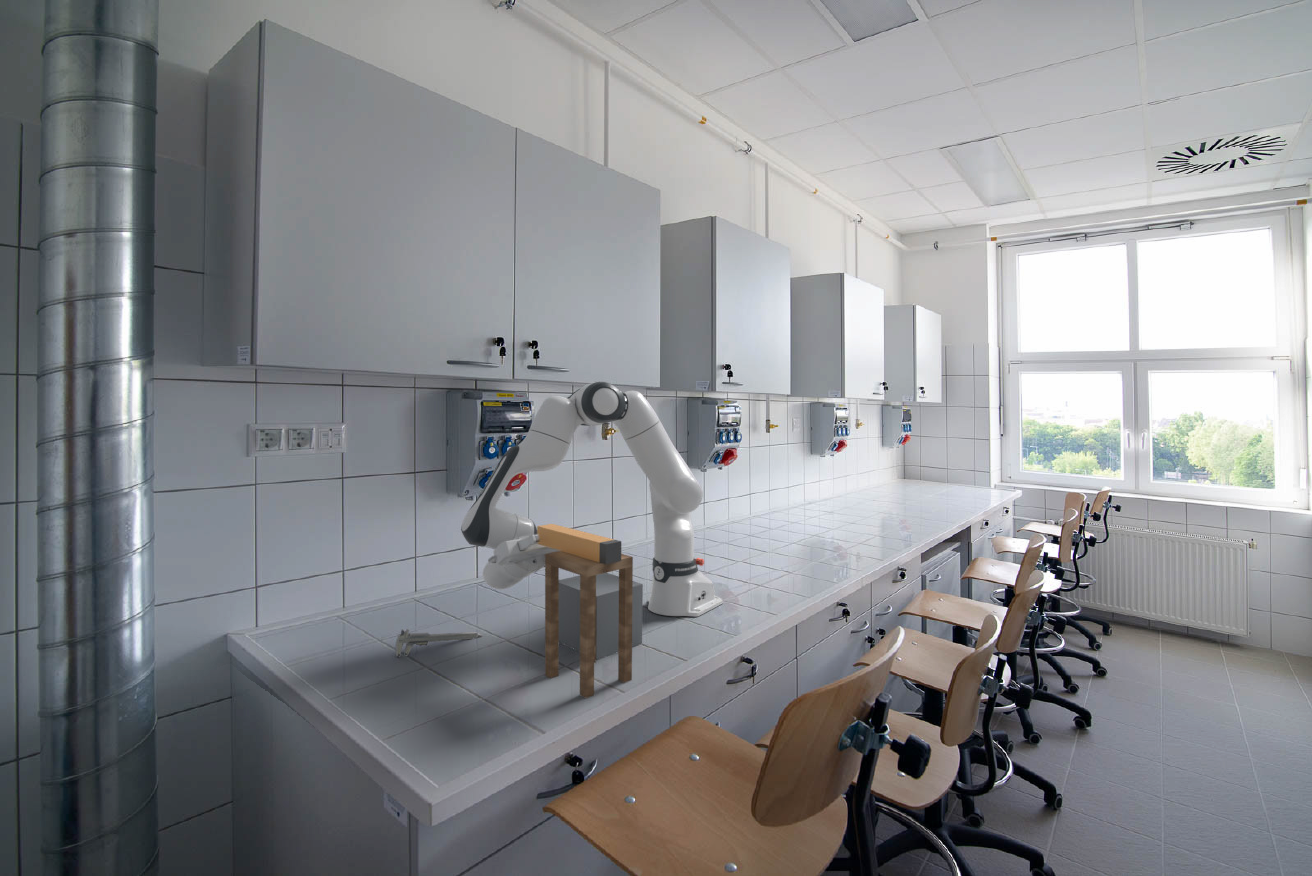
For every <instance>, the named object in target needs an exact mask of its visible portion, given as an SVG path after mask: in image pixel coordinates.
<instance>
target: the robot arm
mask: <svg viewBox="0 0 1312 876" xmlns="http://www.w3.org/2000/svg"><path fill="white" fill-rule="evenodd" d="M606 423H613V424H614V425H615V426H616V427H617V429H618V430H619V431H620V434H621V436H622V438H623V440H624V441H625V443H626V445H627V447H628V449H629V450H630V452H631V455H632V456H633V458H634V460H635V461H636V464H637V465H638V466H639V468H640V469H641V470H642V472H643V473H644V474H645V477H646V478H647V479H648V481H649V492H650V499H651V500H650V501H651V503H650V504H651V512H652V520H653V528H654V529H653V530H654V532H653V533H654V535H653V536H654V545H653V546H654V547H653V548H654V557H653V558H652V573H653V575H652V582H651V587H650V588H651V590H650V596H649V597H648V606H647V608H648V610H649V611H650V612H652V613H654V614H657V615H661V616H668V617H694V618H695V617H700V616H702V615H704V614H705V613H707V612H710V611H711V610H713V609H715V608H717V607H718V606H720V605H722V604H723V603H724V602H723V599H722V598H721V597H720V596H717V595H715V587H714V583H713V581H712V580H710V578H708V577H707V576H706V575H705V574H703V573H702V572H701V571H700V570H699V567H698V566H700V567H703V566H704V565H705V560H704V558H701V557H697V558H695V556H694V555H695V554H694V552H695V530H694V526H693V522H692V517H691V513H692V512H694V511H695V510H696V509H698V508H699V506H701V503H702V501H703V498H704V497H703V496H704V494H703V493H704V492H703V489H702V486H701V484H700V482H699V481H698V480H697V478H696V477H695V475H694V474H693V472H692V470H691V469H690V467H689V466H688V464H687V463H686V461H685V460H684V458H683V457H682V456H681V454H680V452H679V451H678V450H677V448H676V447H675V446H674V443H673V442H672V440H671V439H670V436H669V434H668V433H667V431H666V429H665V427H664V425H663V423H662V422H661V420H660V418H659V416H658V414H657V412H656V411H655V410H654V408H653V407H652V405H651V404H650V403H649V401H648V400H647V398H646V397H645V396H644V395H643V394H642V393H641V392H640V391H637V390H627V391H625V392H624V391H622V390H620V389H619V388H617V386H615V385H613V384H611V383H609V382H606V381H597V382H596V381H595V382H591V383H587V384H585V385H583V386H582V387H580V388H578V389H576V390H575V391H574V392H572V393H571V394H570V395H569V396H568V397H565V396H562V395H552V396H551V395H550V396H548V397H547V398H546V399H544V400H543V402H542V403H541V405H540V407H539V409H538V410H537V412H536V414H535V416H534V418H533V420H532V423H531V425H530V427H529V430H528V432H527V433H526V436H525V438H524V439H523V440H522V441H521V442H520V443H519V444H518V445H513V446H511V447H509V448H508V449H507V450H506V452H505V453H504V454H503V456H502V457H501V459H499V461H498V463H497V465H496V467H495V468H494V470H493V471H492V473H491V475H490V477H489V478H488V480H487V481H486V483H485V485H484V486H483V489H482V491H481V492H480V494H479V495H478V497H477V499H476V500H475V501H474V503H473V505H472V506H471V507H470V508H469V510H468V511H467V513H466V514H465V516H464V518H463V520H462V523H461V527H460V531H461V533H462V536H463V537H464V539H465V540H466V542H467V543H468V544H469V545H471V546H475V547H476V546H477V547H482V548H483V547H485V548H488V549H492V550H493V555H492V556H490V557H489V558H488V560H487V561H488V562H487V563H486V564H485V565H484V567H483V570H482V577H483V580H484V582H485V583H486V584H487V585H488V586H489V587H491V588H493V589H495V590H506V589H509V588H512V587H513V586H516V585H517V584H519V582H521V581H522V580H523V579H525V578H527V577H529V576H530V575H531V574H534V573H536V572H538V571H540V570H541V569H543V568H545V554H547V553H553V552H558V551H560V550H556V549H553V548H550V547H546V546H543V545H540V544H537V543H538V542H539V541H540V539H539V535H538V534H537V526H536V524H535V522H534V521H533V520H532V519H530V518H528V517H524V516H522V515H518V514H516V513H511V512H508V511H504V510H501V509H498V508H497V507H496V506H497V504H498V502H499V500H500V498H501V497H502V495H503V493H504V491H505V490H506V488H507V486H508V485H509V482H510V481H511V480H512V479H513V478H514V477H515V476H517V475H520V474H521V473H528V472H545V471H550V470H553V469H555V468H557V467H559V466H560V465H561V464H562V463H563V461H564V460H565V458H566V456H567V453H568V452H569V448H570V445H571V443H572V441H573V440H572V439H573V436H574V434H575V432H576V431H577V429H578V428H579V426H584V427H585V426H586V427H587V426H589V427H590V426H592V427H593V426H601V425H604V424H606ZM571 529H574V528H573V527H572V528H571Z"/></svg>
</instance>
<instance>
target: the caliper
mask: <svg viewBox="0 0 1312 876" xmlns="http://www.w3.org/2000/svg"><path fill="white" fill-rule="evenodd" d="M479 637H480V638H481V637H483V635H482V634H480V633H479V632H476V631H470V632H469V631H467V632H450V633H448V632H447V633H445V632H444V633H431V634H430V633H429V632H414V633H413V632H412V633H410V630H409V629H408V628H407V629H406V630H404V629H401V632H400V633H399V634H397V637H396V641H395V655H396V656H397V657H398V658H400V657H401V653H402V649H403V645H404V644H405V647H404V653H403V655H404V654H405V655H408V656H409V654H410V652H411V650H412V648H413V646H414V645H417V646H427V645H428V643H430V642H431V643H432V642H445V641H461V640H473V638H474V639H477V638H479ZM405 655H404V656H405ZM399 656H400V657H399Z"/></svg>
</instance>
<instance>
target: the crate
mask: <svg viewBox="0 0 1312 876" xmlns="http://www.w3.org/2000/svg"><path fill="white" fill-rule="evenodd" d="M643 587H644V585H643V583H640V582H638V581H634V580H633V592H632V648H633V646H634V647H636V645H637V646H639V644H640V645H642V644H643V606H644V605H643V602H644V599H643V594H644V592H643V591H644V589H643ZM618 642H619V575H615V574H611V573H610V572H607V573H602V574H598V575H596V661H597V660H600V659H603V658H605V656H606V657H608V656H611V655H613V654H617V653H618ZM562 643H563V645H564V644H565V646H567V647H569V648H571V647H572V648H571V649H573V648H574V649H573V650H575V651H577V652H579V653H580V575H576V576H571V577H568V578H563V579H559V644H562ZM641 643H642V644H641ZM616 652H617V653H616Z"/></svg>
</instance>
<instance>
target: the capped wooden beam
mask: <svg viewBox="0 0 1312 876" xmlns="http://www.w3.org/2000/svg"><path fill="white" fill-rule="evenodd" d="M536 528H537V534H538V535H539V539H540V541H539V542H538V543H537V544H540V545H543V546H546V547H550V548H553V549H556V550H560V551H563V552H566V553H570V554H573V555H576V556H579V557H583V558H586V559H589V560H593V561H596V562H599V563H603V564H610V563H615V562H619V561H621V554H622V541H621V540H618V539H613V538H611V537H605V536H602V535H599V534H595V533H590V532H586V531H582V530H577V529H574V528H573V529H571V528H570V527H567V526H562V525H558V524H555V523H548V524H542V525H537V526H536Z"/></svg>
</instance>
